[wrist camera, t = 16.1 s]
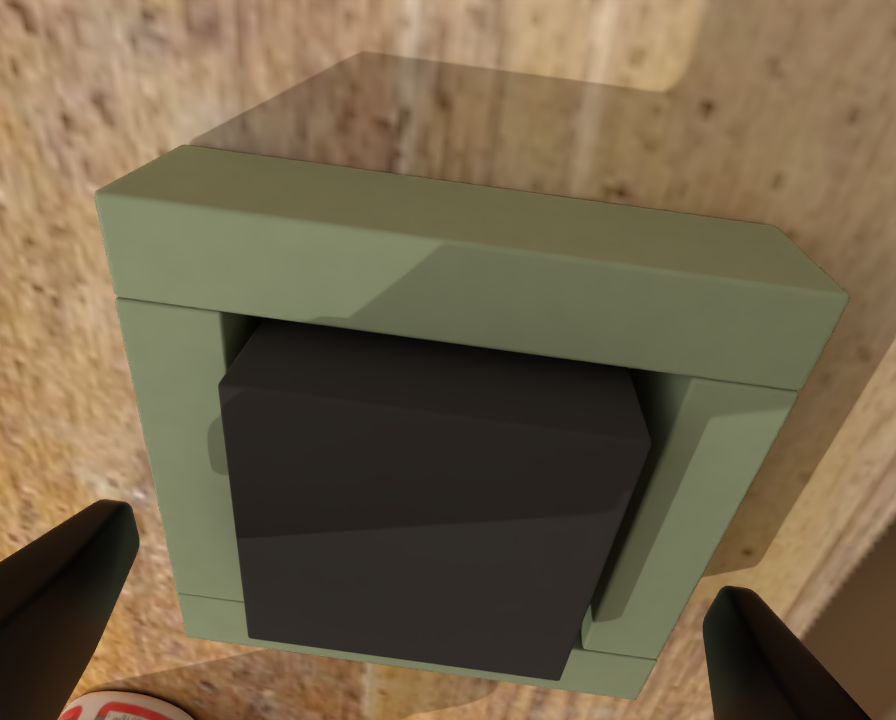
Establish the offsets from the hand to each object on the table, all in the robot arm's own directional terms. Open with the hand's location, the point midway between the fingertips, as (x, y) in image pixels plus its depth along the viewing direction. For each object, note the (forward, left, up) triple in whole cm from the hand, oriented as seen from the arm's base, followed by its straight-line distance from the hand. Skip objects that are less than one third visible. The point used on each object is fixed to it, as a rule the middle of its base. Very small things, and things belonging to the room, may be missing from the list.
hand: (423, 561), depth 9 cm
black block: (0, 0, -4) cm, 4 cm away
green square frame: (0, 0, -4) cm, 4 cm away
